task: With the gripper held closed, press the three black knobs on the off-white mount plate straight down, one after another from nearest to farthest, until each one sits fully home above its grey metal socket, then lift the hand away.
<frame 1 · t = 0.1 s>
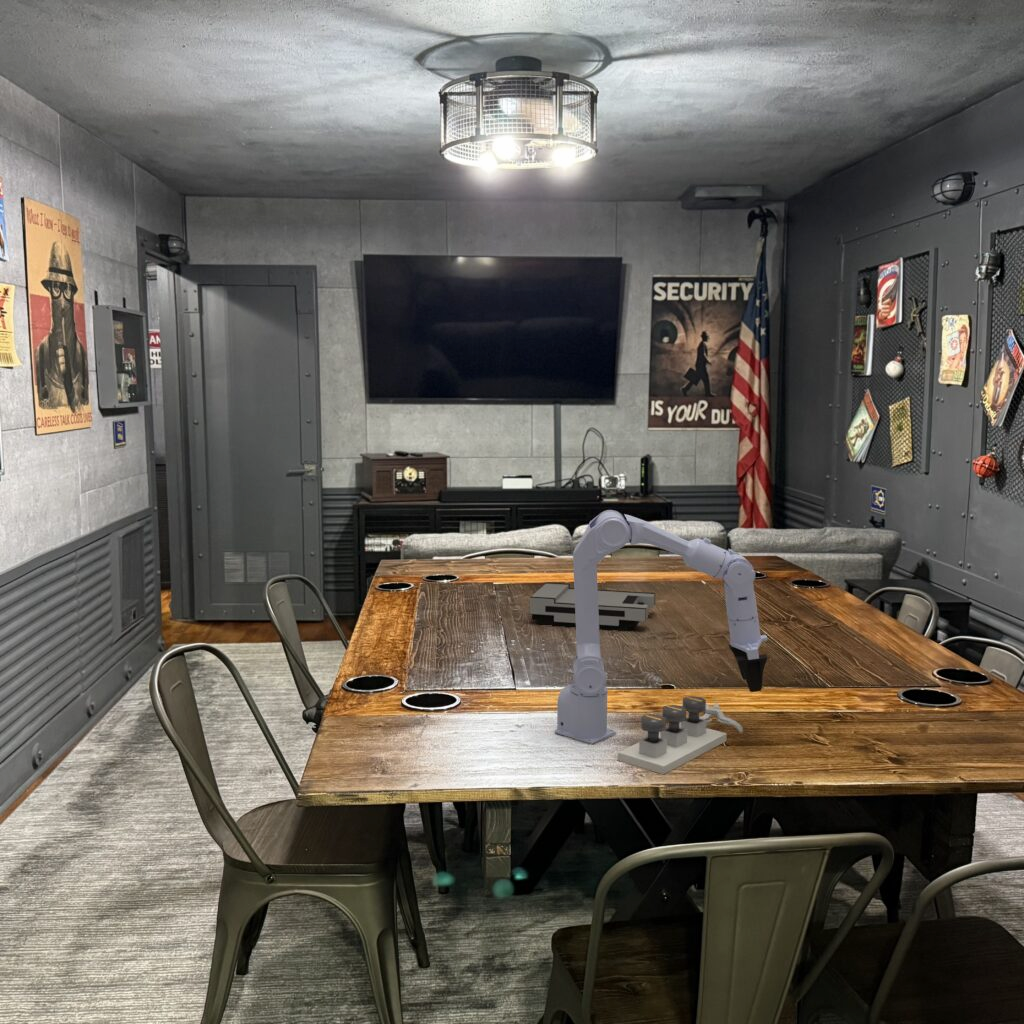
hand: (751, 684, 201), 11 cm above the table, tool pointing down, fingers open, 7 cm apart
game console: (593, 622, 293), on the table
knob middle: (674, 719, 194), point 6 cm above the table, slide at 0.0 cm
knob near: (653, 729, 189), point 6 cm above the table, slide at 0.0 cm
knob mount: (673, 750, 195), on the table
knob far: (693, 710, 199), point 6 cm above the table, slide at 0.0 cm
pliers: (713, 722, 212), on the table
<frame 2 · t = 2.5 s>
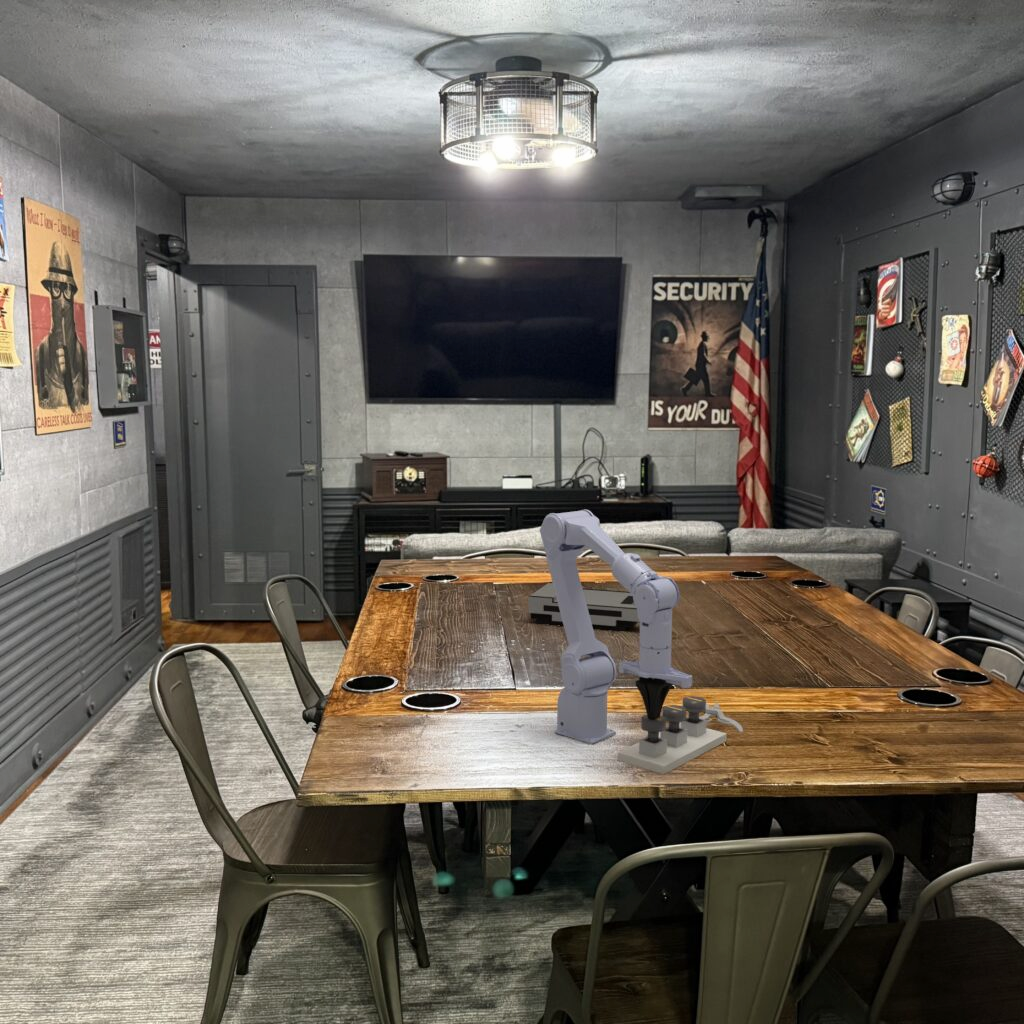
hand: (653, 717, 188), 8 cm above the table, tool pointing down, fingers closed, pressing on knob near
knob near: (653, 729, 189), point 6 cm above the table, slide at 0.0 cm, touching gripper
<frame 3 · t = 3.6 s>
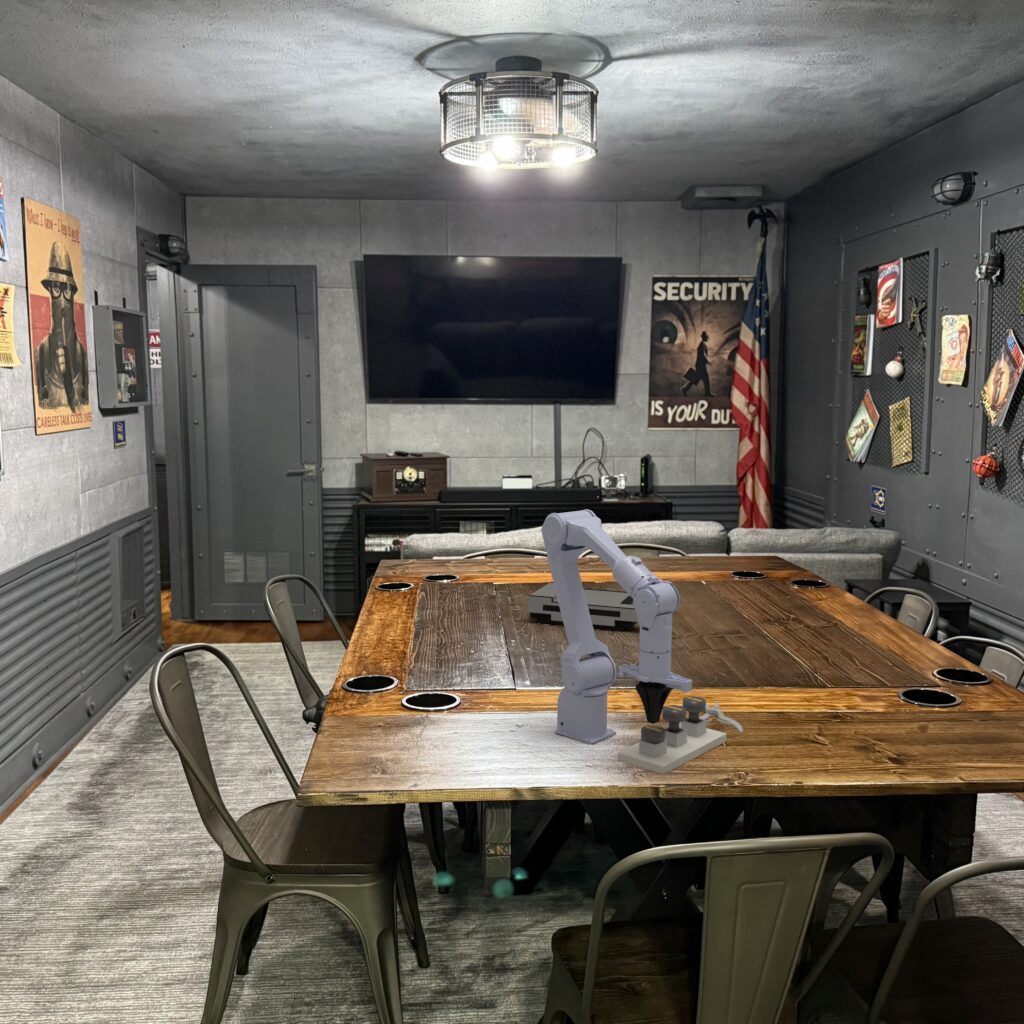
hand: (653, 721, 189), 7 cm above the table, tool pointing down, fingers closed
knob near: (653, 740, 189), point 4 cm above the table, slide at 2.1 cm
everything else where it was.
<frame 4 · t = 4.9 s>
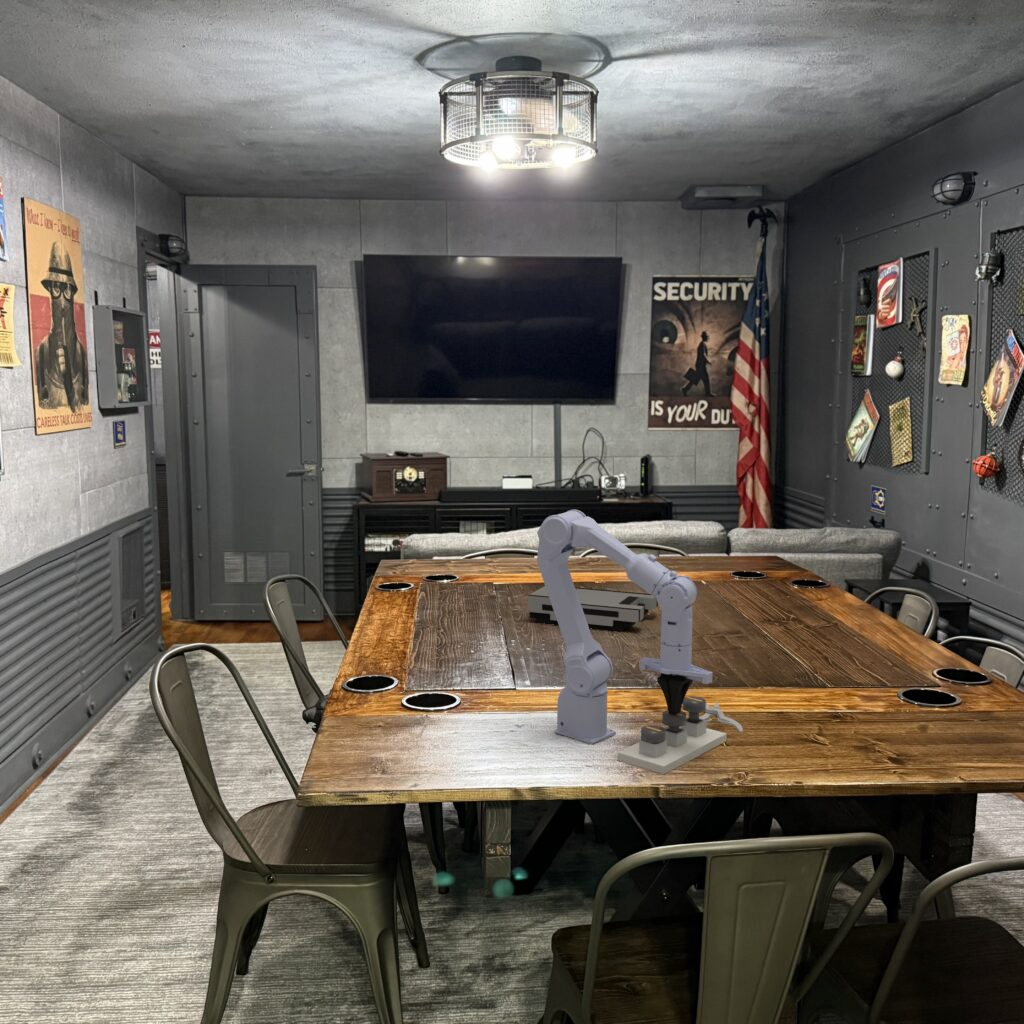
hand: (674, 713, 194), 7 cm above the table, tool pointing down, fingers closed, pressing on knob middle
knob middle: (674, 723, 194), point 5 cm above the table, slide at 0.9 cm, touching gripper
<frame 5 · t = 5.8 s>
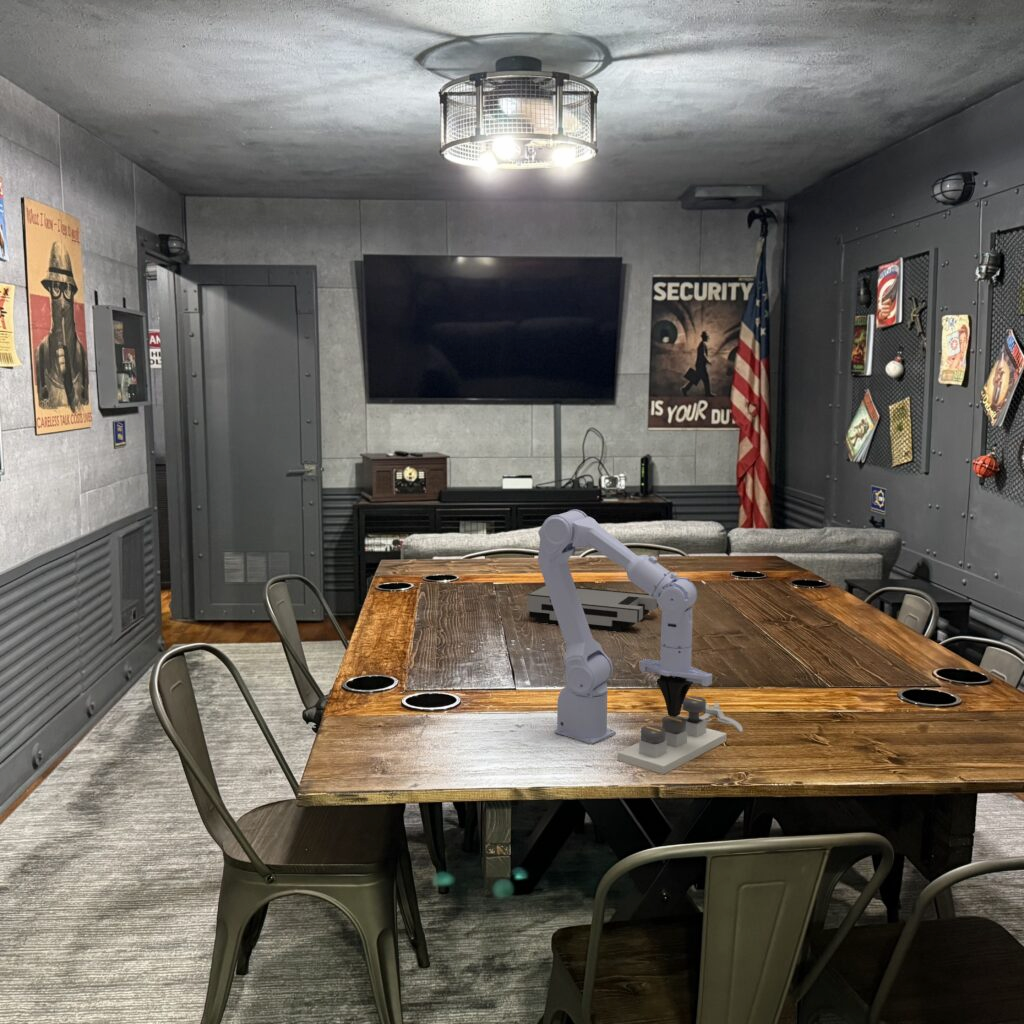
hand: (674, 714, 194), 7 cm above the table, tool pointing down, fingers closed
knob middle: (673, 730, 194), point 4 cm above the table, slide at 2.1 cm
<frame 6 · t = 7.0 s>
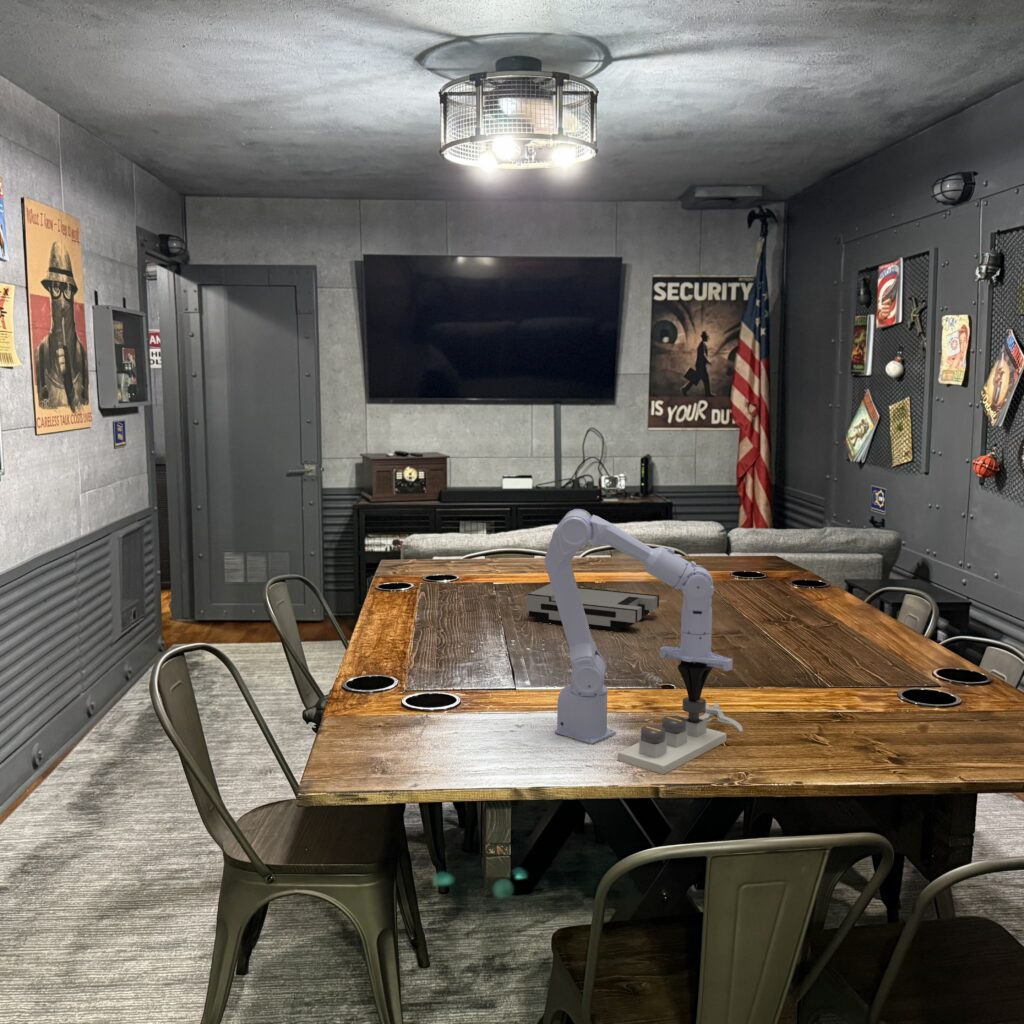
hand: (694, 699, 199), 8 cm above the table, tool pointing down, fingers closed, pressing on knob far
knob far: (693, 710, 199), point 6 cm above the table, slide at 0.1 cm, touching gripper
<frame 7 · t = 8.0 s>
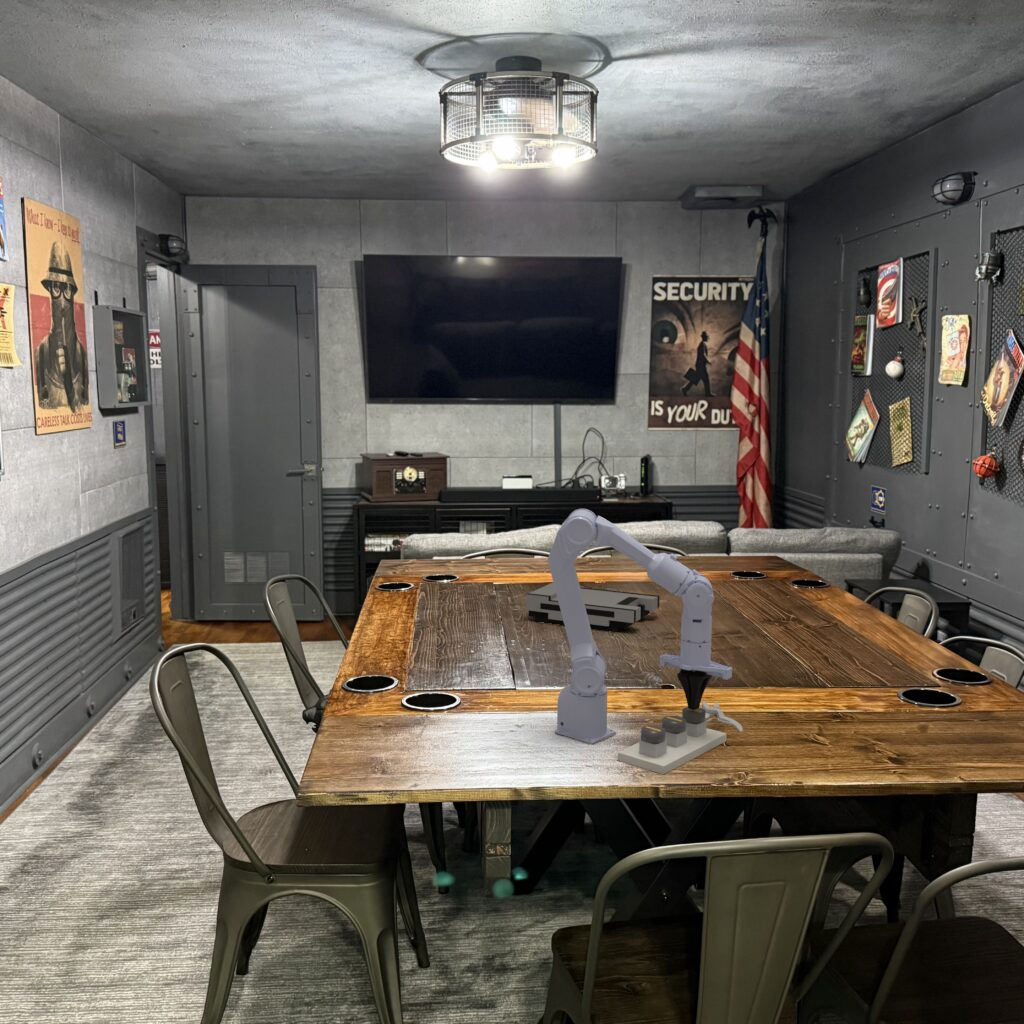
hand: (693, 708, 199), 6 cm above the table, tool pointing down, fingers closed
knob far: (693, 720, 200), point 4 cm above the table, slide at 2.1 cm
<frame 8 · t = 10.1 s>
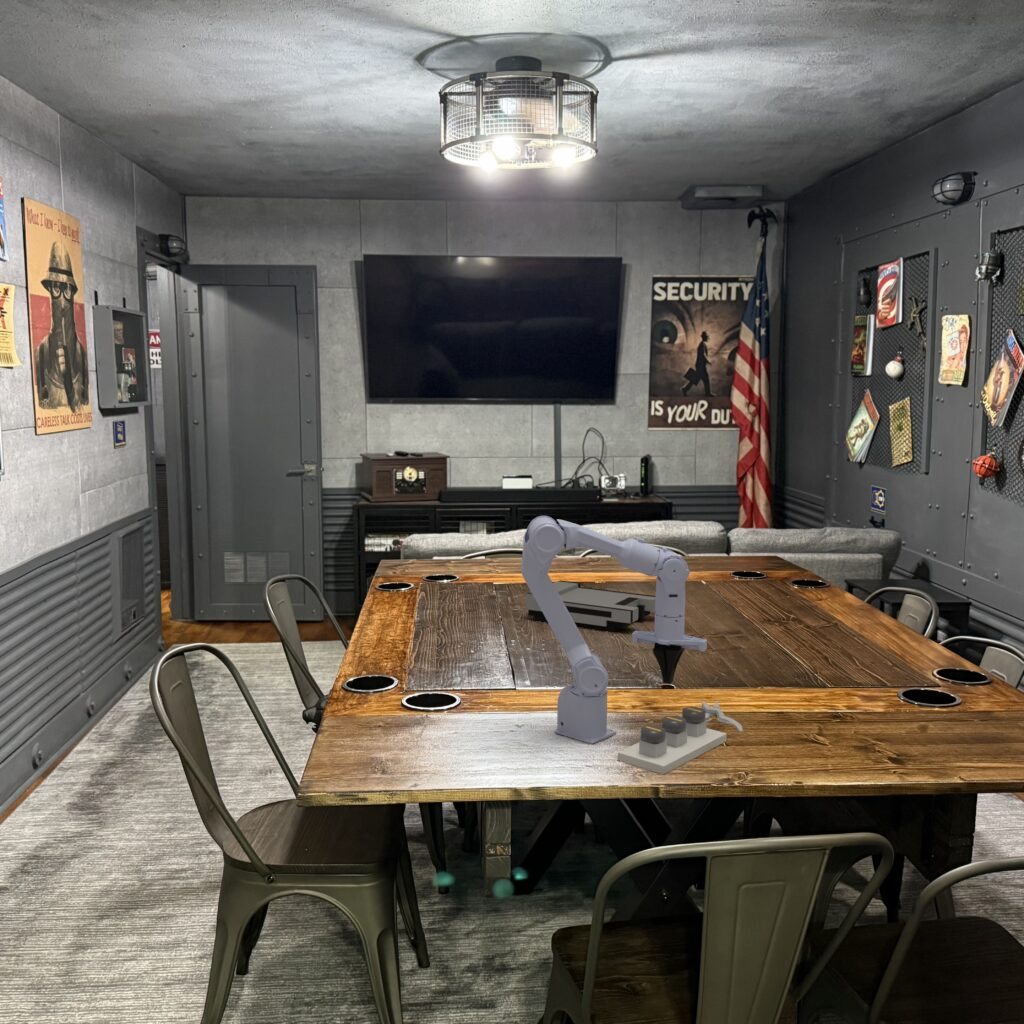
hand: (668, 682, 203), 10 cm above the table, tool pointing down, fingers closed
at the end: knob near slide at 2.1 cm; knob middle slide at 2.1 cm; knob far slide at 2.1 cm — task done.
